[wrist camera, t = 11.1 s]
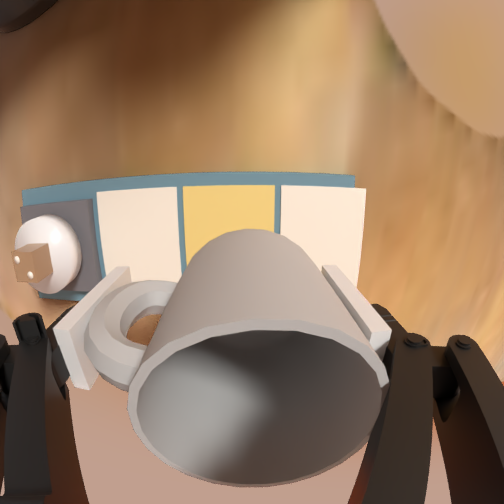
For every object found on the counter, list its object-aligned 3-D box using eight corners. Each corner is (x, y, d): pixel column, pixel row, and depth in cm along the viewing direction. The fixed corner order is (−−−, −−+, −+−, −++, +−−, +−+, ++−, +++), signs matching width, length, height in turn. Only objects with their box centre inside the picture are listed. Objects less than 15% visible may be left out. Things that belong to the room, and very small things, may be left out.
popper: (23, 216, 20) (-9, 228, 16) (76, 211, 21) (45, 223, 16) (34, 283, 22) (8, 303, 18) (87, 286, 22) (62, 309, 18)
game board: (27, 189, 22) (15, 191, 20) (361, 175, 23) (371, 177, 21) (44, 294, 25) (34, 301, 23) (350, 296, 26) (357, 306, 25)
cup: (299, 357, 17) (334, 485, 8) (130, 329, 16) (66, 446, 7) (334, 240, 15) (432, 331, 6) (137, 205, 14) (20, 262, 5)
